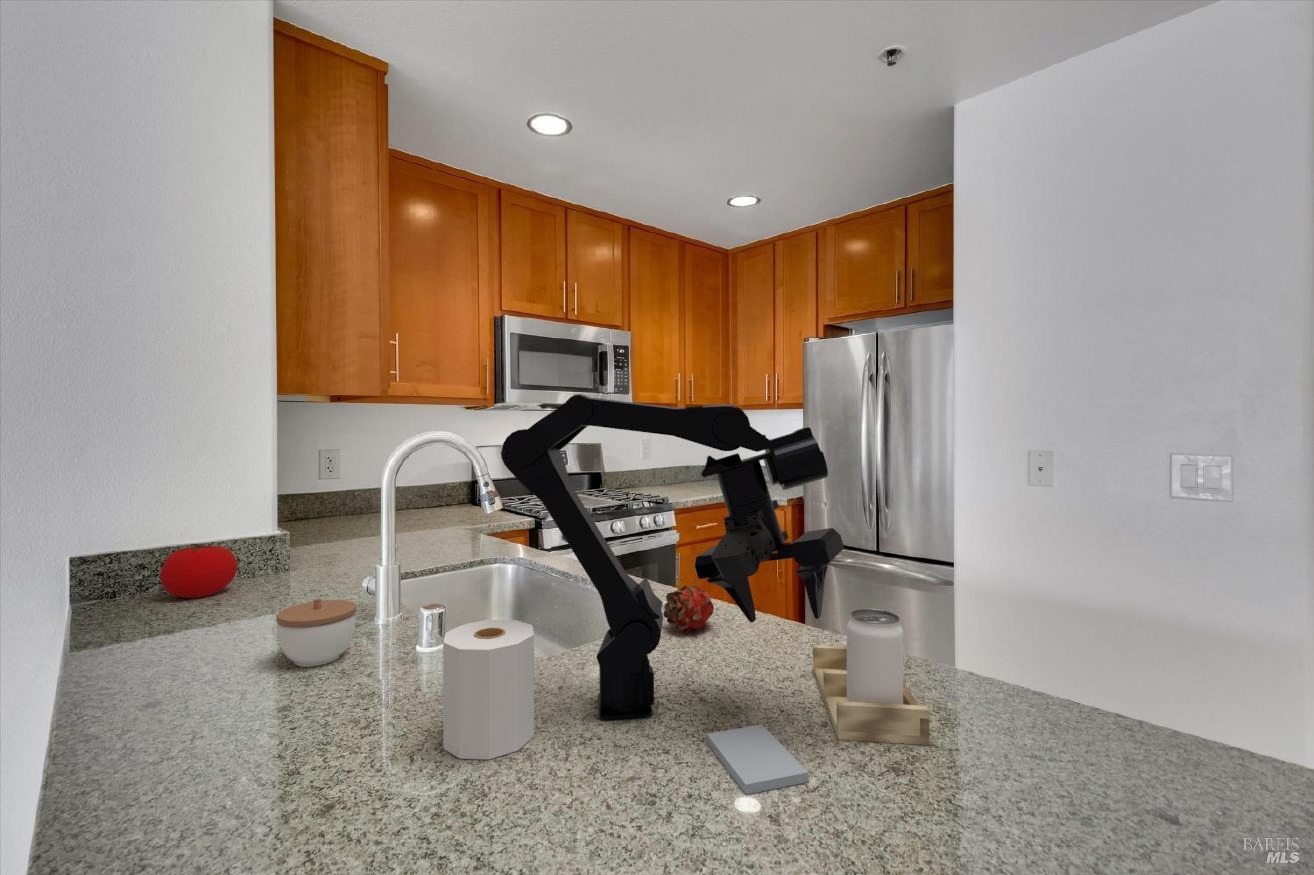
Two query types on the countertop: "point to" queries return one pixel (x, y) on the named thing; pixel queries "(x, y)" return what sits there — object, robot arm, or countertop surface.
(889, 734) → the rack
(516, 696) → the toilet paper
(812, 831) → the countertop surface
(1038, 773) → the countertop surface
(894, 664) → the can
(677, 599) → the dragon fruit
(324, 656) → the lidded jar
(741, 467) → the robot arm
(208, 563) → the tomato
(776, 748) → the block
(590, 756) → the countertop surface
